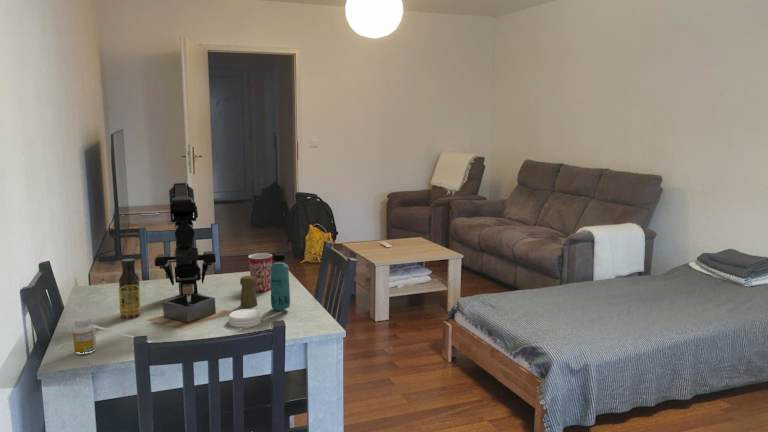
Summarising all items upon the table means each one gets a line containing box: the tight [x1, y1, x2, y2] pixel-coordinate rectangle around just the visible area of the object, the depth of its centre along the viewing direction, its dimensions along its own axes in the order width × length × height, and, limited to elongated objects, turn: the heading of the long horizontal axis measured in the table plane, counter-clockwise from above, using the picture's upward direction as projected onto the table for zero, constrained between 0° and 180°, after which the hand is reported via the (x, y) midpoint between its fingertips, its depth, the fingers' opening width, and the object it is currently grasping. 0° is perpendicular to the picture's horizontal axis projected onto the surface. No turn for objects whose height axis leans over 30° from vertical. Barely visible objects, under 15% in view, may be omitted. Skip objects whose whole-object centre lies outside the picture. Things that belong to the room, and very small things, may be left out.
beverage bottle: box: [269, 252, 291, 310], centre depth 195 cm, size 6×7×20 cm
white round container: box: [228, 308, 262, 329], centre depth 185 cm, size 10×10×4 cm
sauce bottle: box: [118, 258, 141, 320], centre depth 190 cm, size 6×6×20 cm
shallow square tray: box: [162, 293, 217, 324], centre depth 191 cm, size 14×12×6 cm
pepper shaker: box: [239, 275, 258, 309], centre depth 201 cm, size 6×6×11 cm
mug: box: [247, 252, 273, 293], centre depth 223 cm, size 13×9×14 cm
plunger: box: [182, 284, 194, 306], centre depth 190 cm, size 9×9×10 cm
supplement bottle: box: [72, 316, 97, 353], centre depth 162 cm, size 5×5×10 cm
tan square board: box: [144, 307, 233, 331], centre depth 191 cm, size 20×20×1 cm
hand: (187, 284), depth 189 cm, fingers open, 9 cm apart
